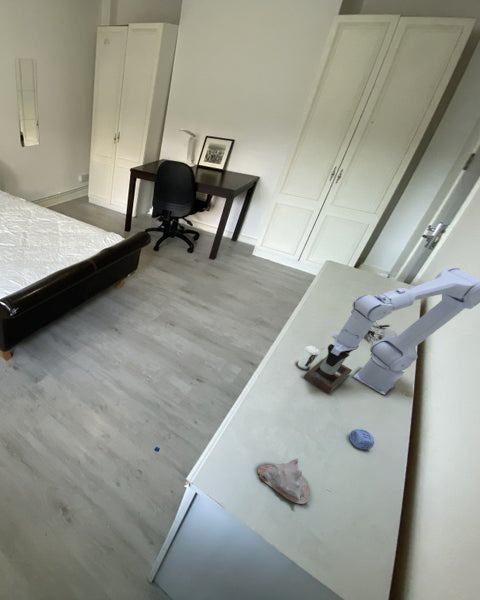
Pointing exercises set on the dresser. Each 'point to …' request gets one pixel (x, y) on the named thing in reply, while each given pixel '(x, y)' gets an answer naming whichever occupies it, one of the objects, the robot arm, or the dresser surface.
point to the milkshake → (308, 356)
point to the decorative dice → (361, 439)
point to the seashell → (286, 480)
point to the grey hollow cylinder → (330, 369)
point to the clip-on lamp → (383, 333)
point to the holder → (321, 383)
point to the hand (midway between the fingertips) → (332, 361)
